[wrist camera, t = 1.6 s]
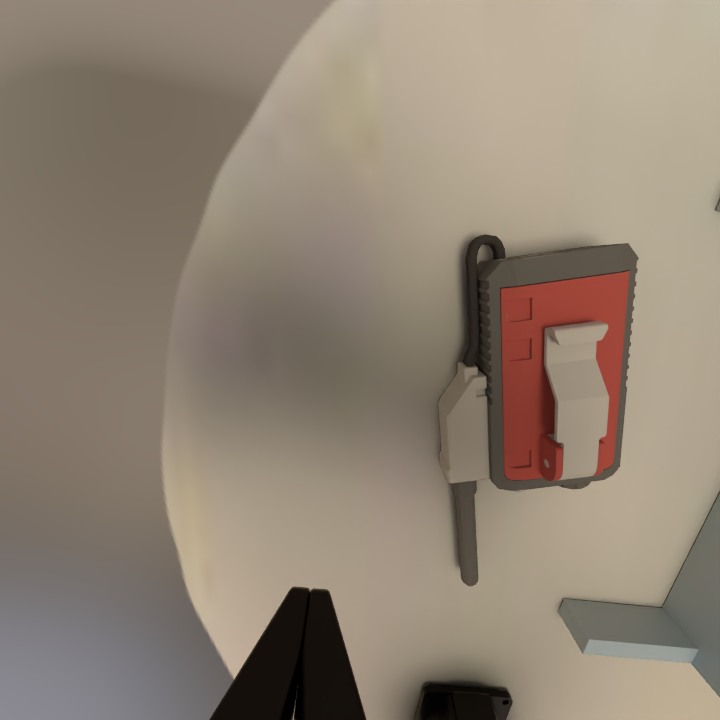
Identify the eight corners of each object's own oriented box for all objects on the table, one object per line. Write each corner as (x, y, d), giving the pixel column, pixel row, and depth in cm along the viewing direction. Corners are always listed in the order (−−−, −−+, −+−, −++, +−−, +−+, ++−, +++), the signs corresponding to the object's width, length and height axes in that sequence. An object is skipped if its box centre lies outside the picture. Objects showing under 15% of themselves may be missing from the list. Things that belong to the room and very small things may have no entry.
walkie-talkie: (420, 245, 16) (446, 565, 22) (443, 237, 12) (468, 638, 17) (600, 219, 16) (581, 549, 21) (689, 202, 12) (637, 619, 17)
